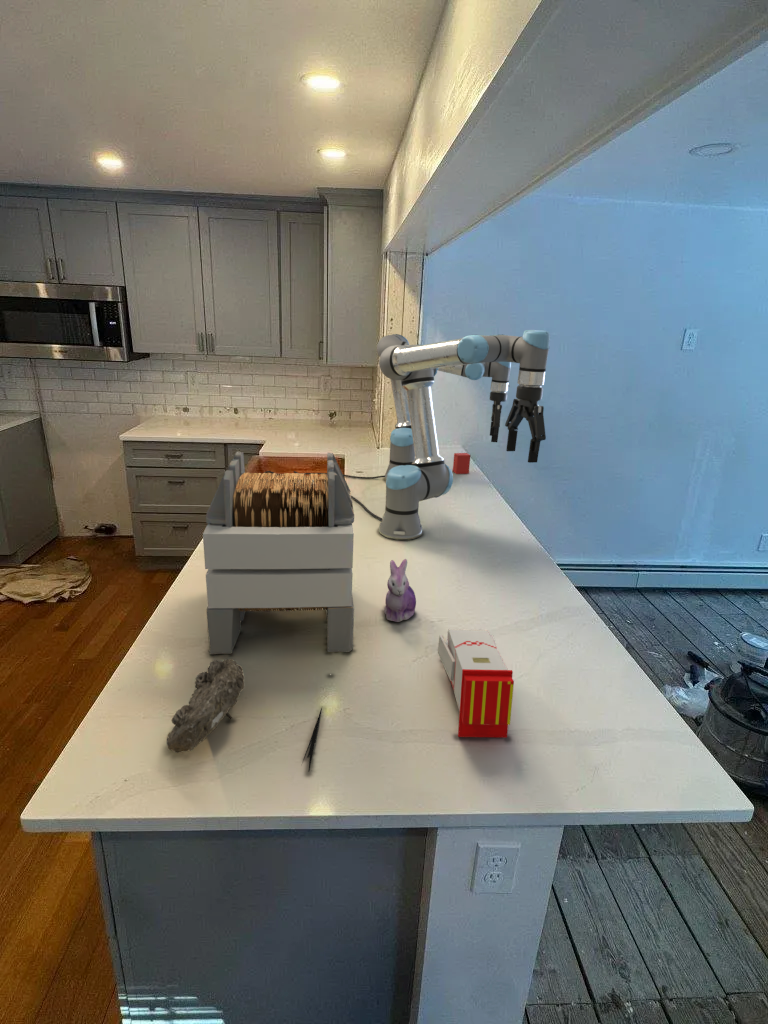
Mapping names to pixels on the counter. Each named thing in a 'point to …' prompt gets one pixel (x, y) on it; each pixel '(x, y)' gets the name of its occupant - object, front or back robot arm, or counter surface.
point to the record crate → (279, 550)
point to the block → (461, 463)
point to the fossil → (206, 705)
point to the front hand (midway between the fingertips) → (521, 456)
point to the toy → (478, 682)
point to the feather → (313, 740)
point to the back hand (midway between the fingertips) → (493, 438)
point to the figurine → (399, 594)
